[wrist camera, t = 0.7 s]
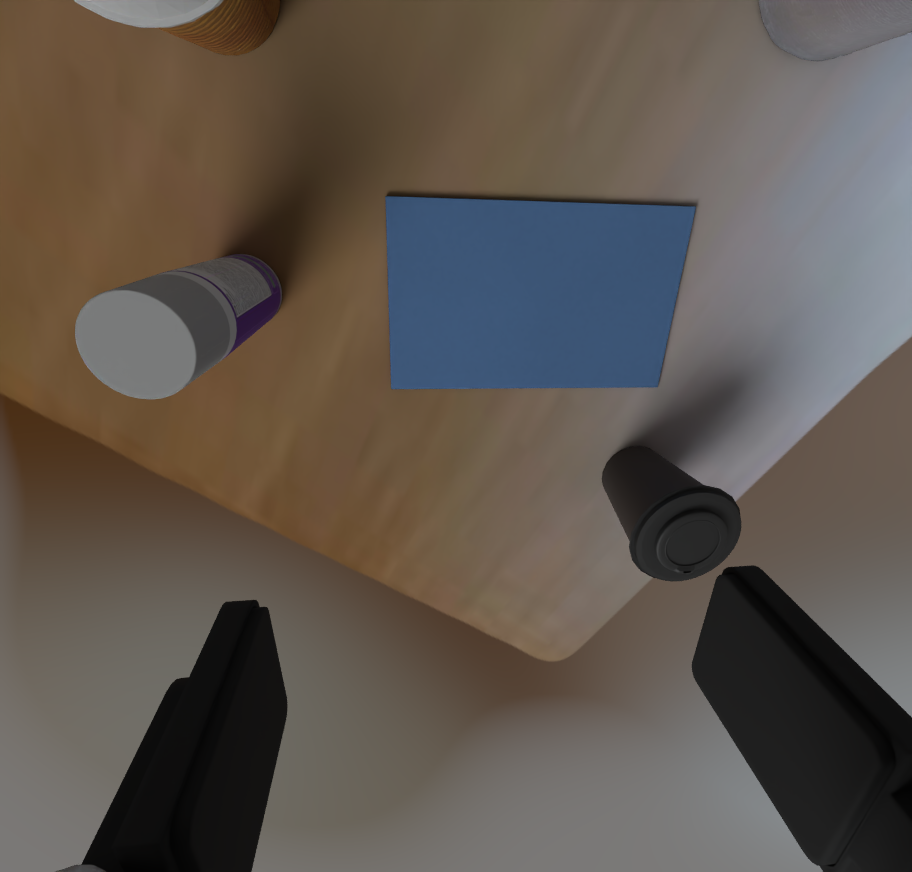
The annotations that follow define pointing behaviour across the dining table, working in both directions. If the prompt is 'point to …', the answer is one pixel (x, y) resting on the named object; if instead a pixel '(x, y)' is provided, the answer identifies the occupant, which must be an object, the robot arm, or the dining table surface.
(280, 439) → the dining table surface
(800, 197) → the dining table surface
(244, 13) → the disposable coffee cup
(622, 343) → the napkin
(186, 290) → the container
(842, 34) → the pillar candle
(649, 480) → the coffee cup
